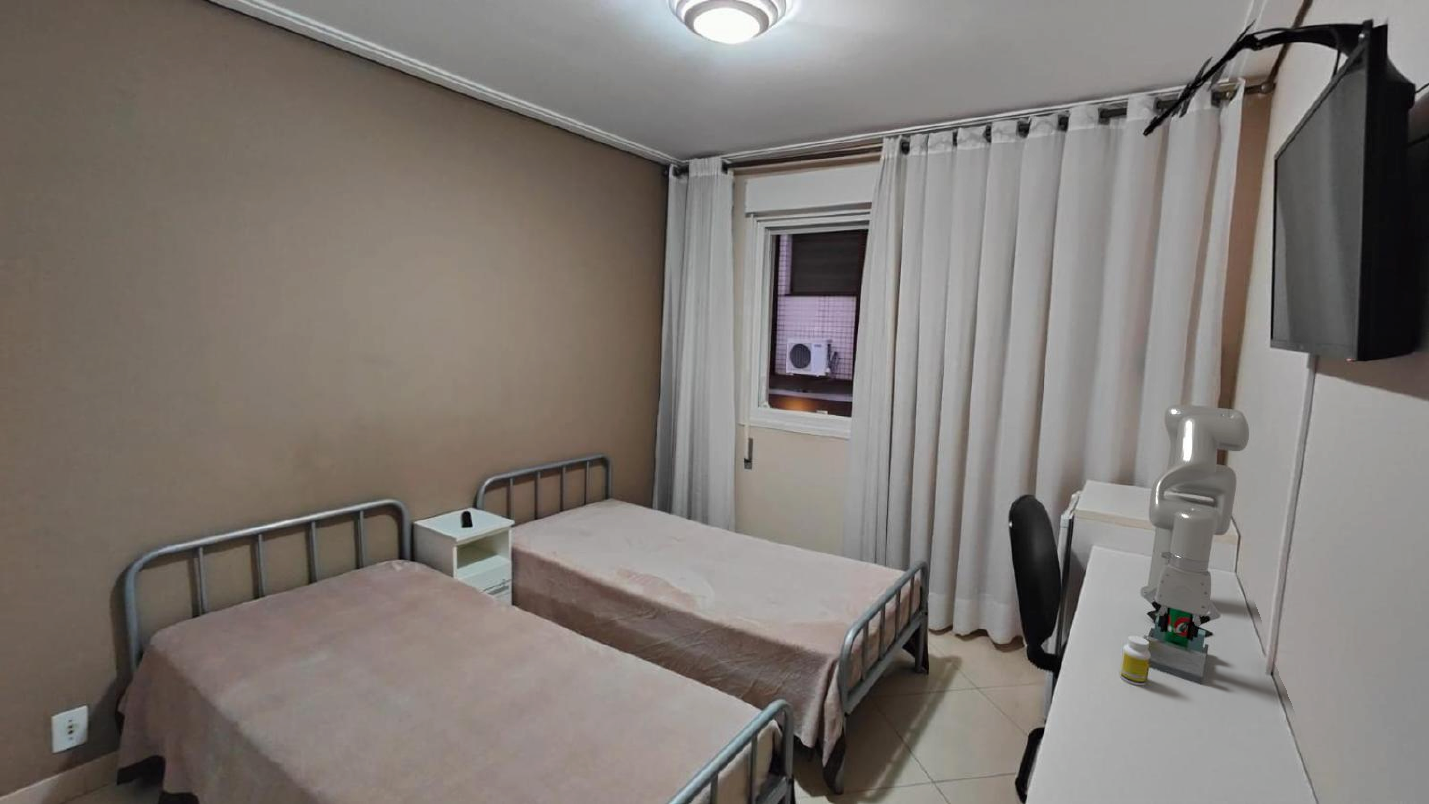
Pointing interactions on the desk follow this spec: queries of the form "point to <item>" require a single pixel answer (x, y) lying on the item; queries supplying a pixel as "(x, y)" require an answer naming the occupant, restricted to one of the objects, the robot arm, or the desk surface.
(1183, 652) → the grey tray
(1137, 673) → the supplement bottle
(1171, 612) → the soda can
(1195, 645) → the block
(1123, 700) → the desk surface
